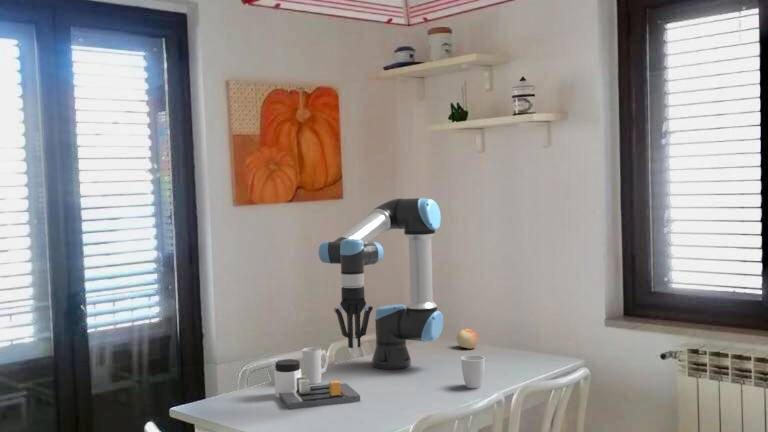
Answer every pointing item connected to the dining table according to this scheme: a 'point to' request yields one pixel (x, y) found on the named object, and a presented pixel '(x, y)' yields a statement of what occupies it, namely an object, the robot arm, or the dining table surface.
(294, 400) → the panel
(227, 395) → the dining table surface
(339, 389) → the handle
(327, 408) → the dining table surface
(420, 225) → the robot arm
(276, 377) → the jar
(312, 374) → the mug
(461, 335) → the apple
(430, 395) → the dining table surface
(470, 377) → the cup
